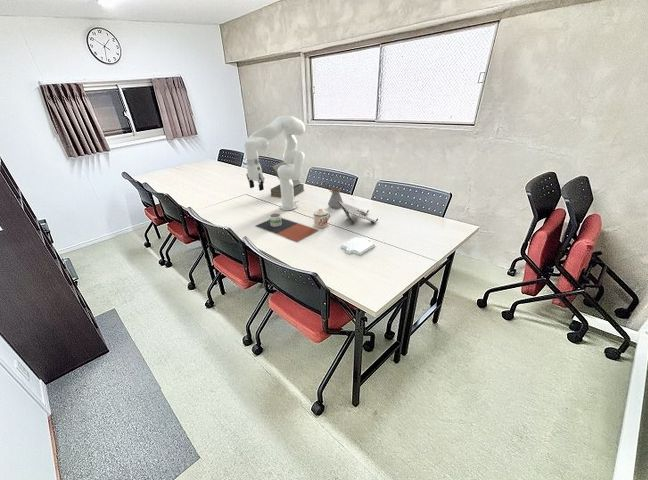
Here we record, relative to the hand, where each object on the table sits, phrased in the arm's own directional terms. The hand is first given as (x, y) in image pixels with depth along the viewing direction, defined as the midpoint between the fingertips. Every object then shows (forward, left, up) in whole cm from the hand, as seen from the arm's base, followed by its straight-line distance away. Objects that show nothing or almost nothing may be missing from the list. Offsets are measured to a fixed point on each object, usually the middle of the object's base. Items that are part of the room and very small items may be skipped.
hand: (256, 188), depth 184 cm
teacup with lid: (-22, +36, -24) cm, 49 cm away
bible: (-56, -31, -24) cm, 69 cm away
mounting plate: (-10, +71, -24) cm, 76 cm away
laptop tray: (-42, +50, -24) cm, 70 cm away
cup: (-4, +10, -24) cm, 26 cm away
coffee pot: (-54, +19, -24) cm, 62 cm away
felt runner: (-4, +20, -24) cm, 32 cm away
